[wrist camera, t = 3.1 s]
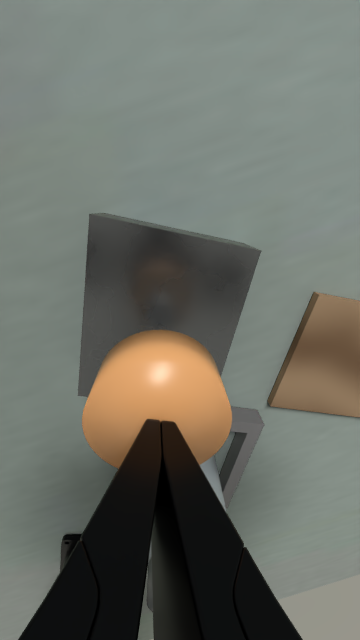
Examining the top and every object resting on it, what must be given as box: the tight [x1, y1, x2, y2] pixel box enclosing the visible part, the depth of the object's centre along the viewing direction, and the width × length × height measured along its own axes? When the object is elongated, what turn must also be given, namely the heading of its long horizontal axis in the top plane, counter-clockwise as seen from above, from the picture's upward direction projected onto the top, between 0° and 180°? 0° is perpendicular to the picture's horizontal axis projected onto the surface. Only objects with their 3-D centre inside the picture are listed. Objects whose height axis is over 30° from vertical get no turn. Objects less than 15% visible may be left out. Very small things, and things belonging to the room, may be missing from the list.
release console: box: [78, 213, 261, 397], centre depth 15 cm, size 10×8×3 cm
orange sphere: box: [82, 330, 232, 469], centre depth 10 cm, size 4×4×4 cm
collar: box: [219, 407, 264, 509], centre depth 21 cm, size 10×10×2 cm
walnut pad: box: [268, 292, 360, 417], centre depth 18 cm, size 9×9×1 cm
